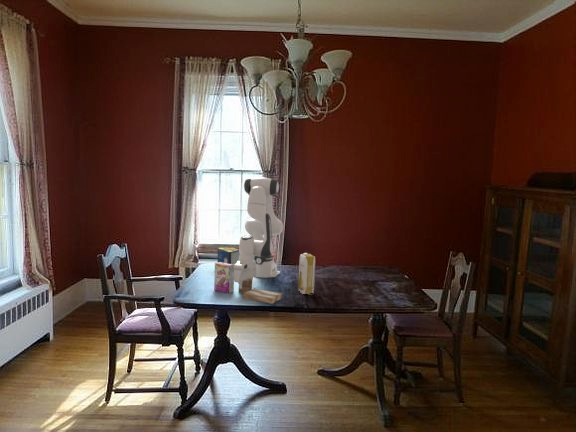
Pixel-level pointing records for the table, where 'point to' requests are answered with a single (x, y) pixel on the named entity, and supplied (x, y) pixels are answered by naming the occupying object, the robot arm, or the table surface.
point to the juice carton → (306, 273)
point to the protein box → (228, 255)
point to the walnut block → (246, 286)
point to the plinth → (262, 296)
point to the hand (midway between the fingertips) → (245, 286)
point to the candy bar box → (224, 277)
